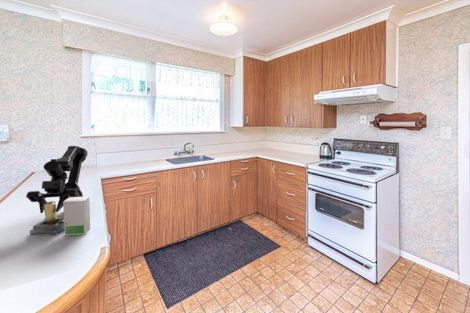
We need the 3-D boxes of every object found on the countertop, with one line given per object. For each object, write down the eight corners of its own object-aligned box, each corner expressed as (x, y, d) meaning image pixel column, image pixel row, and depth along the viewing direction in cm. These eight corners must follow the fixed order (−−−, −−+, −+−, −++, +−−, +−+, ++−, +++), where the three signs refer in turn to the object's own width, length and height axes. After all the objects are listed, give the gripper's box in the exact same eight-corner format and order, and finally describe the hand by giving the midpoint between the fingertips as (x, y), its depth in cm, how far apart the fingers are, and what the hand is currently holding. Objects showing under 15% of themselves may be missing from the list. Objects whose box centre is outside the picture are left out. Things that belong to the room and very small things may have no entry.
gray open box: (30, 234, 97) (29, 224, 96) (47, 225, 105) (46, 216, 105) (58, 235, 97) (57, 225, 96) (72, 225, 106) (71, 216, 105)
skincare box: (64, 236, 96) (61, 201, 94) (71, 229, 102) (68, 196, 100) (86, 234, 98) (83, 200, 96) (91, 227, 104) (89, 195, 102)
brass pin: (45, 230, 101) (42, 203, 99) (55, 227, 104) (53, 200, 102) (48, 233, 98) (45, 205, 97) (59, 229, 102) (56, 202, 100)
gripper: (26, 174, 98) (13, 206, 90) (75, 172, 104) (67, 202, 95) (37, 186, 107) (26, 217, 98) (82, 184, 113) (75, 213, 104)
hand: (49, 212), depth 99 cm, fingers open, 5 cm apart
